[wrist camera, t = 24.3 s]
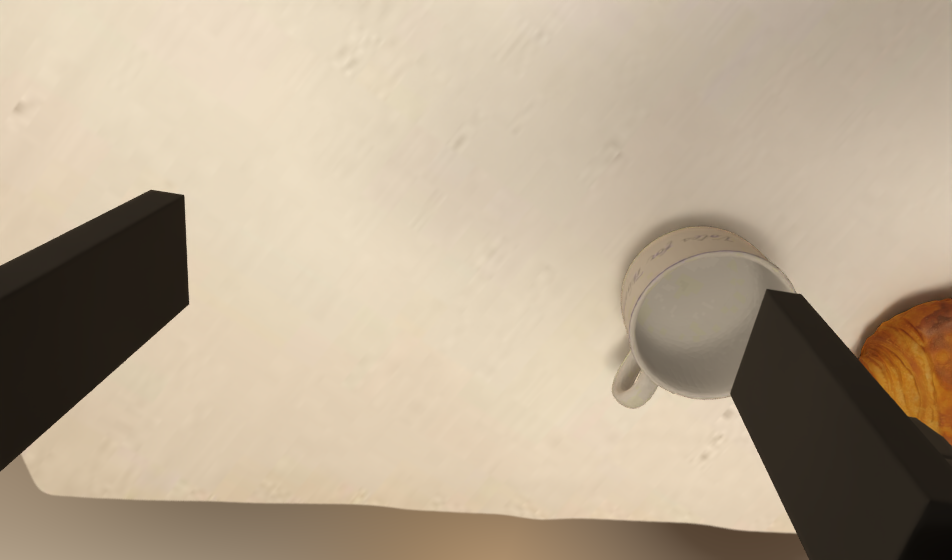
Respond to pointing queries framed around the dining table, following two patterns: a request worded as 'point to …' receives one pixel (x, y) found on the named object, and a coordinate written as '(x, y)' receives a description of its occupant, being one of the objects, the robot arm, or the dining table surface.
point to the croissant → (916, 362)
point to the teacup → (691, 313)
